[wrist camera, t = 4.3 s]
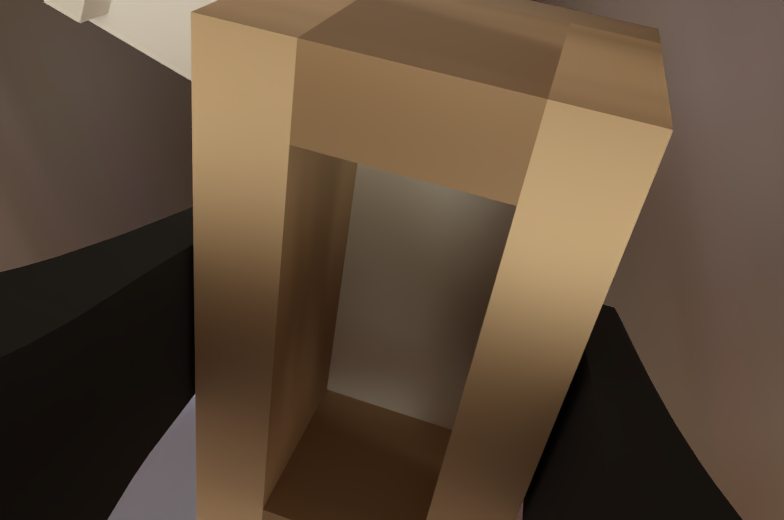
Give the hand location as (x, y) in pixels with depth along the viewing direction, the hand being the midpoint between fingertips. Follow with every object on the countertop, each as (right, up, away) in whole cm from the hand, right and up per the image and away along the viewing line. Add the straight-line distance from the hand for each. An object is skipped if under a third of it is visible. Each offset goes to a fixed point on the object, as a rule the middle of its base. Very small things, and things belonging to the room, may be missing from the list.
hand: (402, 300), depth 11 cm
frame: (0, +1, +1) cm, 2 cm away
